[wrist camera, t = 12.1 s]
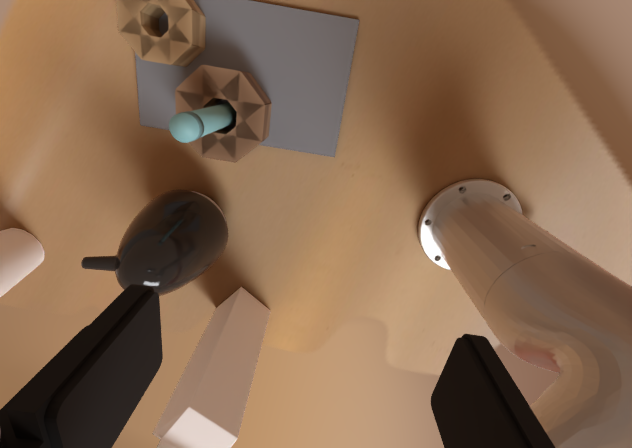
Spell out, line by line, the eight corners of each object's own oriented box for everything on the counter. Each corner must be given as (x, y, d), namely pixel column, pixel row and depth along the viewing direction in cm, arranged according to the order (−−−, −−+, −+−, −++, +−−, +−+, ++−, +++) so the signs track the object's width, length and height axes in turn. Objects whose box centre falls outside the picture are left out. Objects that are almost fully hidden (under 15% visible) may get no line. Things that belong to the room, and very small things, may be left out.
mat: (359, 20, 32) (359, 19, 31) (334, 156, 38) (334, 157, 37) (132, -20, 31) (129, -21, 31) (142, 124, 37) (140, 125, 36)
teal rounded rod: (242, 104, 35) (197, 116, 24) (240, 125, 36) (196, 145, 25) (221, 100, 35) (167, 110, 24) (221, 121, 36) (168, 140, 25)
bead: (274, 76, 34) (267, 75, 30) (266, 158, 37) (259, 166, 34) (191, 62, 34) (174, 59, 30) (191, 146, 37) (176, 153, 34)
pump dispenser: (161, 170, 39) (69, 217, 25) (242, 193, 40) (196, 250, 26) (155, 240, 43) (73, 313, 29) (229, 259, 44) (183, 339, 30)
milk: (241, 285, 46) (173, 441, 26) (271, 310, 47) (229, 475, 27) (215, 308, 48) (132, 470, 27) (245, 331, 49) (187, 501, 29)
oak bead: (205, -8, 31) (191, -19, 28) (205, 70, 34) (192, 68, 31) (135, -21, 31) (112, -33, 28) (140, 59, 34) (120, 56, 30)
